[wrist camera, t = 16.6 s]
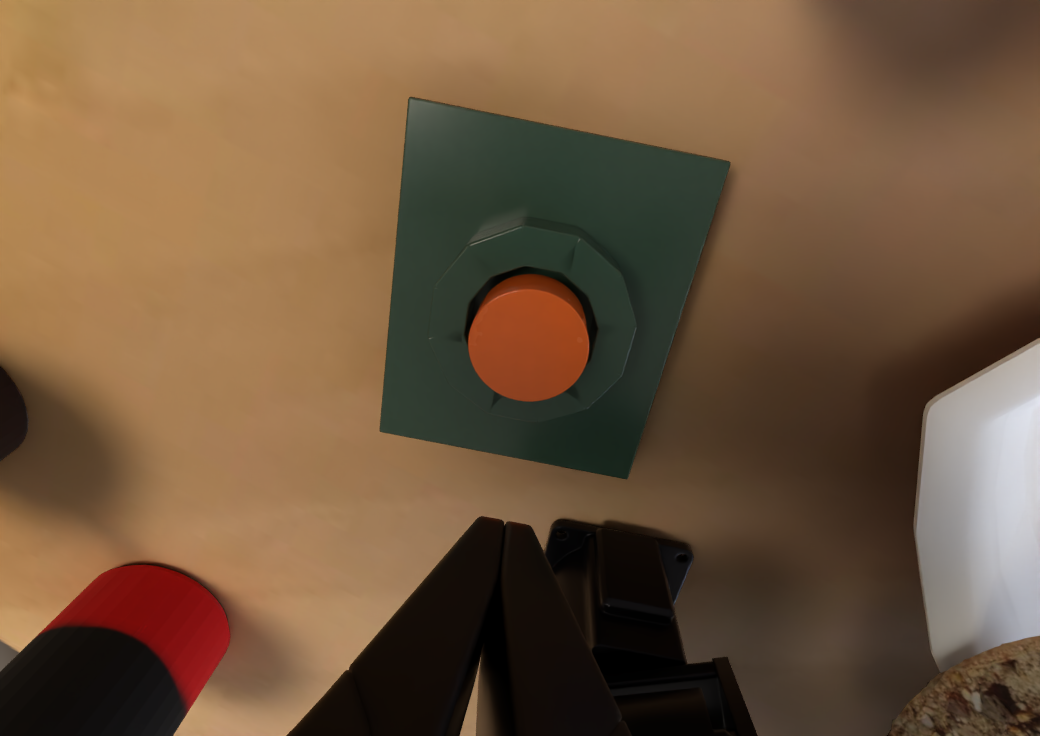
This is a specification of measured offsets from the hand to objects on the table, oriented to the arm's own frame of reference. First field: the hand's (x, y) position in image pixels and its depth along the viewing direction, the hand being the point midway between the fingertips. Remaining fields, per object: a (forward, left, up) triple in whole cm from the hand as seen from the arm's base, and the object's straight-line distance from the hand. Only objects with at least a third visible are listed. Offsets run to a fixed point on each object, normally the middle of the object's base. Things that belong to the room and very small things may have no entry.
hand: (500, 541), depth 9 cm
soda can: (-21, +16, -13) cm, 30 cm away
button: (0, 0, -10) cm, 10 cm away
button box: (0, 0, -13) cm, 13 cm away
